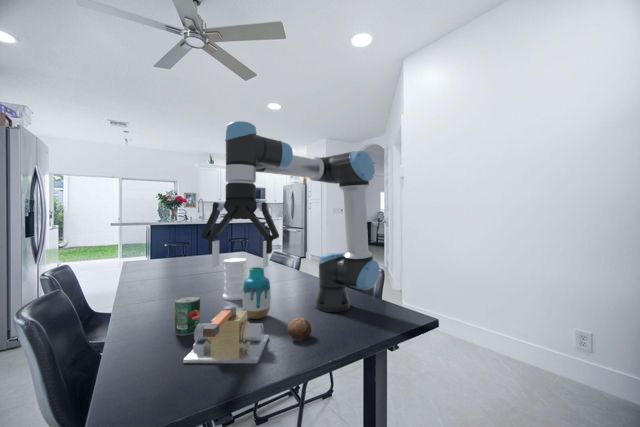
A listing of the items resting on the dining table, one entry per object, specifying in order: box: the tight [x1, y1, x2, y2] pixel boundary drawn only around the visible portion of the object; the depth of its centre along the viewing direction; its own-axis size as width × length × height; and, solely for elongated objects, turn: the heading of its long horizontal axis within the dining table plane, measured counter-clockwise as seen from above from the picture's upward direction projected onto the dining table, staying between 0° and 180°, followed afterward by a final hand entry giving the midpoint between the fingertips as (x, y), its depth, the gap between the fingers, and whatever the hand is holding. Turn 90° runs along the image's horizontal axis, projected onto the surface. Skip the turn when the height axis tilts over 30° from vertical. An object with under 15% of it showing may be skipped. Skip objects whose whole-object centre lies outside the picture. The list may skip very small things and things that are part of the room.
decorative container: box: [222, 257, 248, 301], centre depth 133 cm, size 12×12×18 cm
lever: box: [203, 305, 237, 337], centre depth 74 cm, size 17×4×2 cm, turn 0°
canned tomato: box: [174, 295, 201, 337], centre depth 94 cm, size 8×8×11 cm
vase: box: [242, 266, 272, 320], centre depth 105 cm, size 11×11×19 cm
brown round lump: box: [286, 317, 312, 342], centre depth 89 cm, size 8×8×6 cm
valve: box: [182, 310, 269, 364], centre depth 80 cm, size 20×15×10 cm
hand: (240, 266), depth 70 cm, fingers open, 12 cm apart
